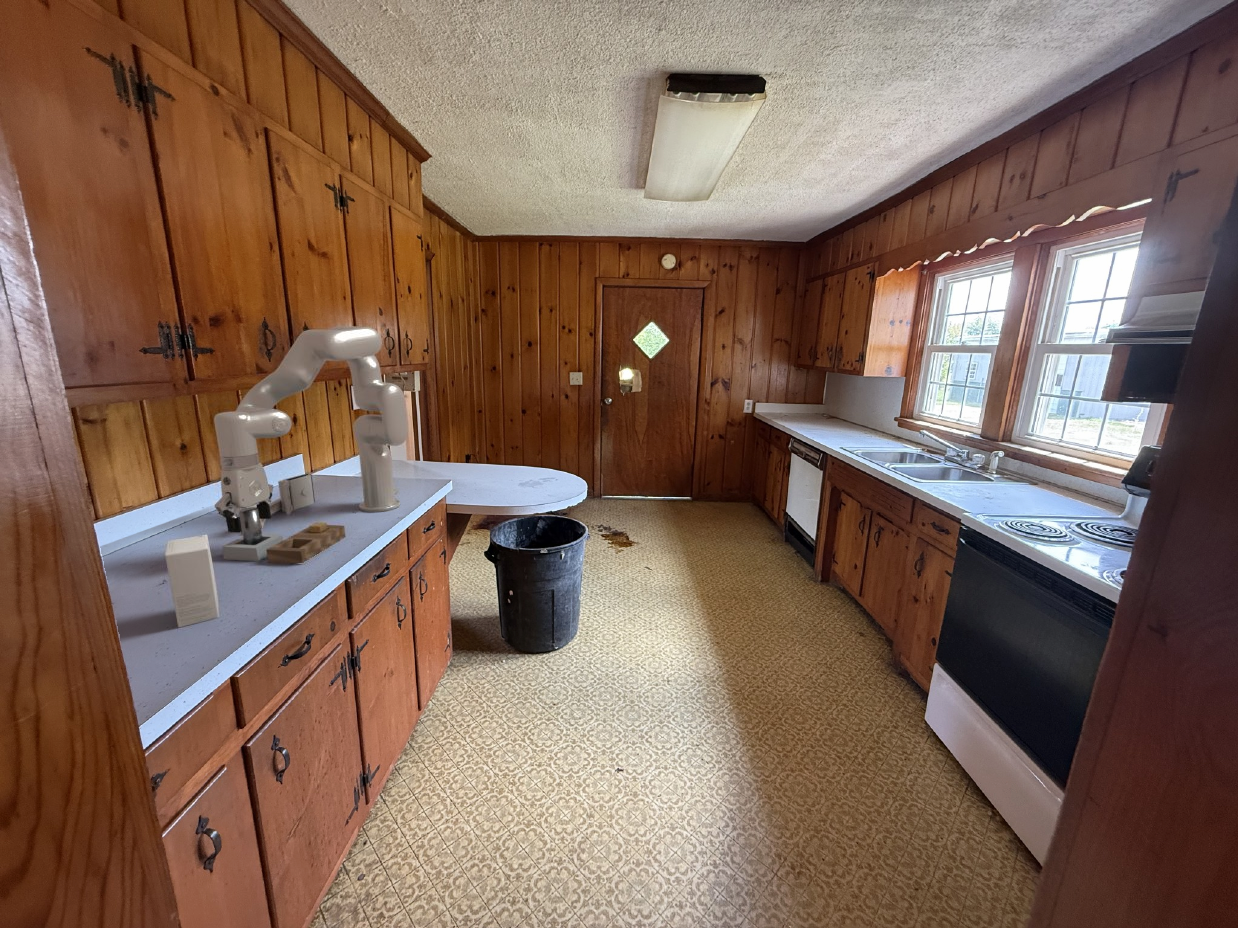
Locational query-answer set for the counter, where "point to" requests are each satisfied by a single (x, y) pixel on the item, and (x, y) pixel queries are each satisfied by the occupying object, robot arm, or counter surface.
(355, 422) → the robot arm
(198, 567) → the skincare box
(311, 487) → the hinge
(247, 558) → the holder
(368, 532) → the counter surface
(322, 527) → the tan square peg
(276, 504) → the wrench
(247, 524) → the grey metal rounded cylinder
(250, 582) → the counter surface
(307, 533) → the socket block
